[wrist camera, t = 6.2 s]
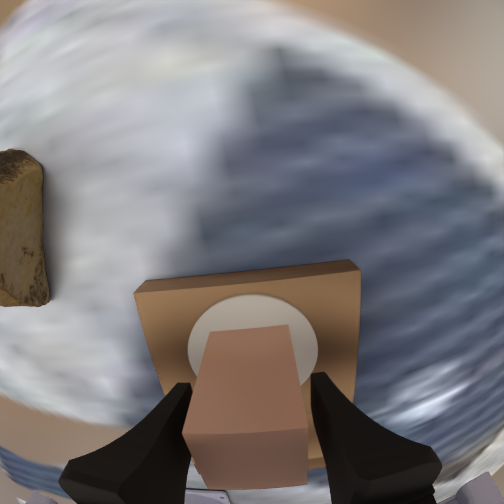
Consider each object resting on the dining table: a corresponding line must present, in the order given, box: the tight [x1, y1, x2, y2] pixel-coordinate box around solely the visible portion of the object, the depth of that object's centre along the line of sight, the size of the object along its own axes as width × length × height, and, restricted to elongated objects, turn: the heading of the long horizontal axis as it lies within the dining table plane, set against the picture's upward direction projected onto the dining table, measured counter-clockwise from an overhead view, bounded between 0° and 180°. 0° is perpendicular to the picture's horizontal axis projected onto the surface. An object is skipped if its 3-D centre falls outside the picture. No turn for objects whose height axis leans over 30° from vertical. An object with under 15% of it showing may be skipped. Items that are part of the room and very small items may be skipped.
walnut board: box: [133, 260, 361, 474], centre depth 18 cm, size 17×12×2 cm
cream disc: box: [188, 293, 318, 386], centre depth 15 cm, size 7×7×1 cm
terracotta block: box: [182, 324, 308, 490], centre depth 12 cm, size 4×4×7 cm
